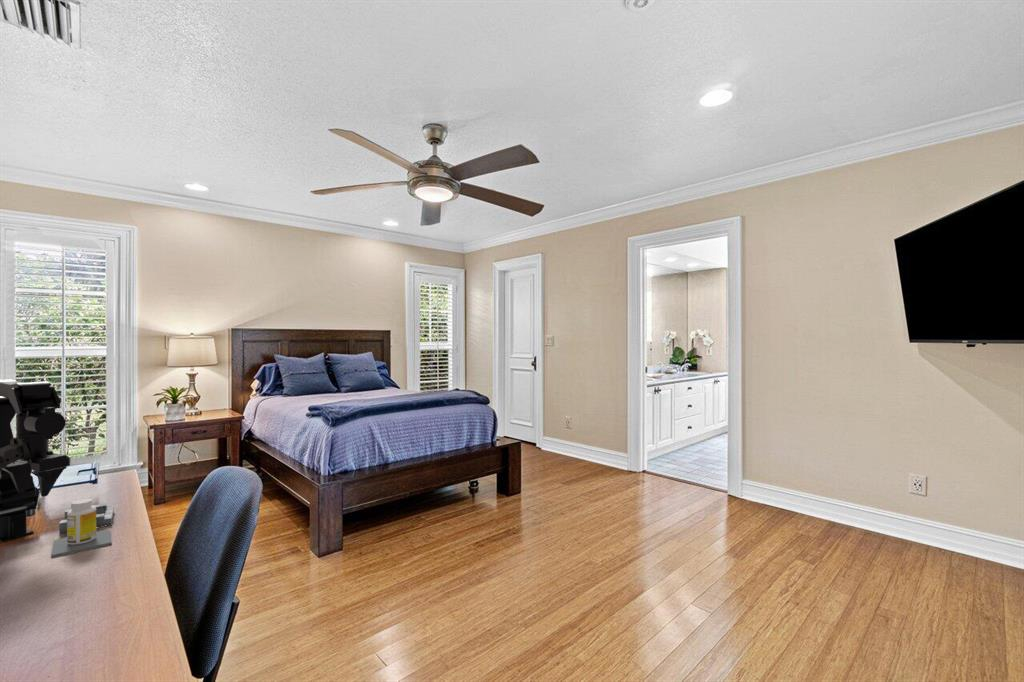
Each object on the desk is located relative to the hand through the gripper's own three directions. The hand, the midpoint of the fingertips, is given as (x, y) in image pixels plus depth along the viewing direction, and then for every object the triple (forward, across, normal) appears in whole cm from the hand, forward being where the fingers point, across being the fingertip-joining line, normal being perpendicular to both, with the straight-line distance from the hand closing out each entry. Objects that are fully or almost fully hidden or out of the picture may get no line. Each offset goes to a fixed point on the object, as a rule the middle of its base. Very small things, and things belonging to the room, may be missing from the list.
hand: (32, 494), depth 120 cm
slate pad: (+13, +10, +5) cm, 17 cm away
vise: (+13, -3, +13) cm, 19 cm away
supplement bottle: (+13, +10, +5) cm, 17 cm away
